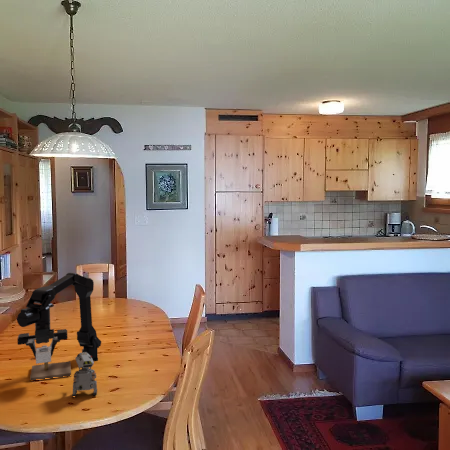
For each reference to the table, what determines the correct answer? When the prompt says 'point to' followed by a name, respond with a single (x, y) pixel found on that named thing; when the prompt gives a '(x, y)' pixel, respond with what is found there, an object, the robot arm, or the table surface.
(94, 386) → the figurine
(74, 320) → the table surface
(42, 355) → the steel link
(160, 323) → the table surface
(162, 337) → the table surface
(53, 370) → the grey peg stand
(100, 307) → the table surface
